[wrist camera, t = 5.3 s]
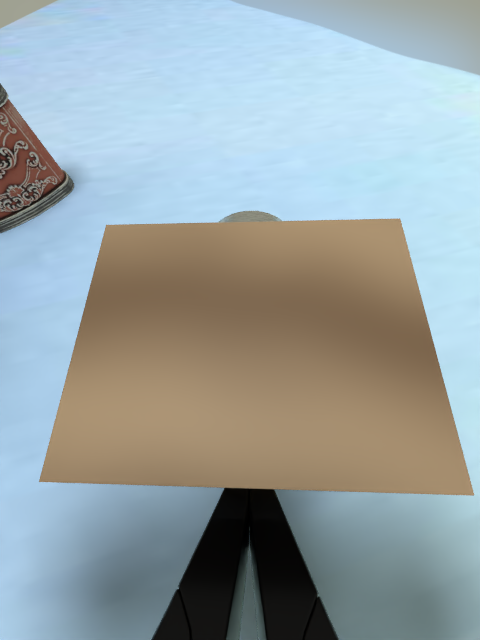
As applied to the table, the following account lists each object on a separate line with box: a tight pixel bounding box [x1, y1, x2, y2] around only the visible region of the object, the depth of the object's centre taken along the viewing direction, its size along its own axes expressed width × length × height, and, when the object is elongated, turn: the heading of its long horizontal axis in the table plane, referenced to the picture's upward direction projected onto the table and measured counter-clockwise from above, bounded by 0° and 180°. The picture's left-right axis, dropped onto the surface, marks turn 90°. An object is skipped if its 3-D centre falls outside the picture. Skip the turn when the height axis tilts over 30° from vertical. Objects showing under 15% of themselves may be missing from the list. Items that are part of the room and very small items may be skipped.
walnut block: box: [39, 219, 474, 495], centre depth 11 cm, size 7×9×10 cm
